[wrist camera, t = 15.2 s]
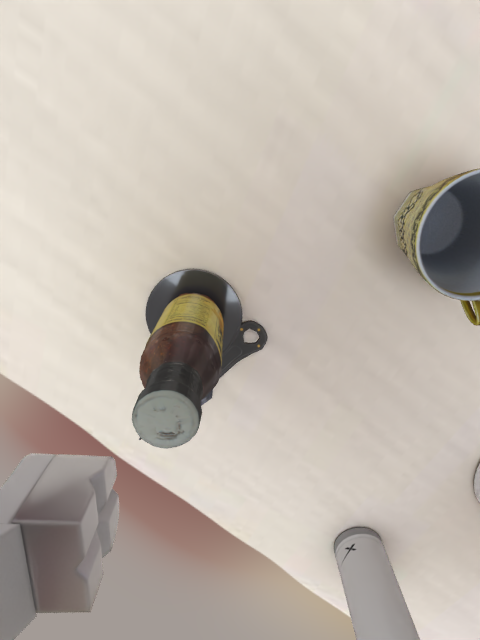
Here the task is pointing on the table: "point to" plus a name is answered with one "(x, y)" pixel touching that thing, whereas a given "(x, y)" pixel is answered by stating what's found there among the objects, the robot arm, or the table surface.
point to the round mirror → (198, 284)
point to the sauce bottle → (179, 370)
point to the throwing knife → (239, 350)
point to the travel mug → (372, 588)
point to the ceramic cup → (445, 237)
